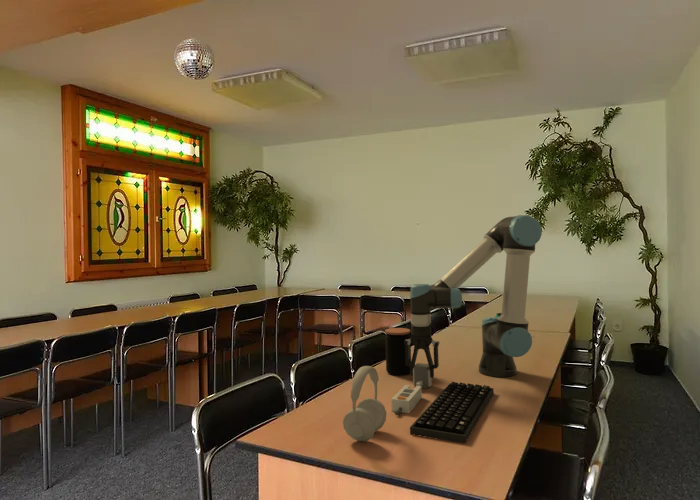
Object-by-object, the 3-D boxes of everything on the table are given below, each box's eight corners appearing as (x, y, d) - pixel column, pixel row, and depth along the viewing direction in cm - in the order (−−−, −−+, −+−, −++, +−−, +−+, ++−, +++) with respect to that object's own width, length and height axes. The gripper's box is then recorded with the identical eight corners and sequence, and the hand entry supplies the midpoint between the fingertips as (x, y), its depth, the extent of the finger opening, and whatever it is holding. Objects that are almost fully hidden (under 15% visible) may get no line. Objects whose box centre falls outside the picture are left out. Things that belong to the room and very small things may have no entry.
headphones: (362, 421, 145) (361, 357, 145) (391, 425, 142) (389, 360, 141) (338, 447, 128) (336, 374, 128) (369, 452, 125) (367, 377, 124)
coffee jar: (410, 376, 192) (409, 332, 192) (384, 375, 195) (383, 332, 194) (412, 369, 203) (411, 328, 202) (387, 368, 205) (386, 327, 205)
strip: (421, 397, 166) (421, 384, 166) (405, 417, 148) (405, 403, 148) (405, 395, 169) (405, 383, 169) (387, 415, 150) (387, 401, 150)
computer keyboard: (465, 445, 128) (464, 431, 128) (410, 436, 135) (409, 423, 135) (493, 395, 168) (493, 384, 168) (450, 390, 176) (449, 380, 176)
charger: (430, 384, 181) (429, 364, 180) (424, 391, 172) (424, 370, 172) (417, 383, 182) (417, 363, 182) (411, 390, 174) (411, 369, 174)
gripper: (446, 323, 179) (448, 384, 179) (401, 322, 186) (402, 380, 186) (442, 327, 172) (444, 390, 172) (395, 325, 179) (397, 385, 179)
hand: (422, 385), depth 179 cm, fingers closed on charger, 5 cm apart
